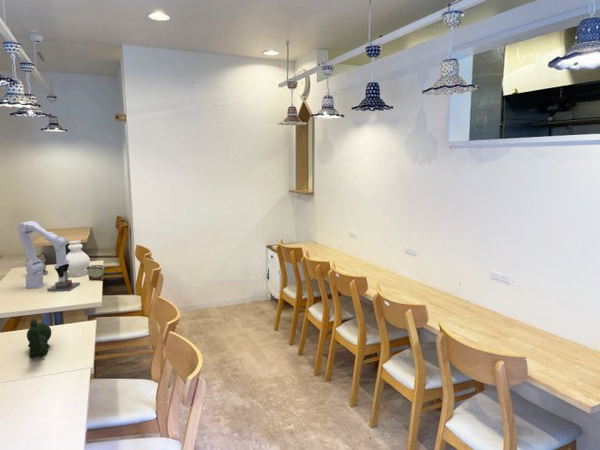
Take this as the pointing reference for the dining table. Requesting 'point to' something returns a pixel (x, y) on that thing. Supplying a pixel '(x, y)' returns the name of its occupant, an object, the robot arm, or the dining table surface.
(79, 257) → the decorative vase
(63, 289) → the base
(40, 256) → the tankard
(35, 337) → the dark green bumpy clump
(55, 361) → the dining table surface
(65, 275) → the block
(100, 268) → the food container
